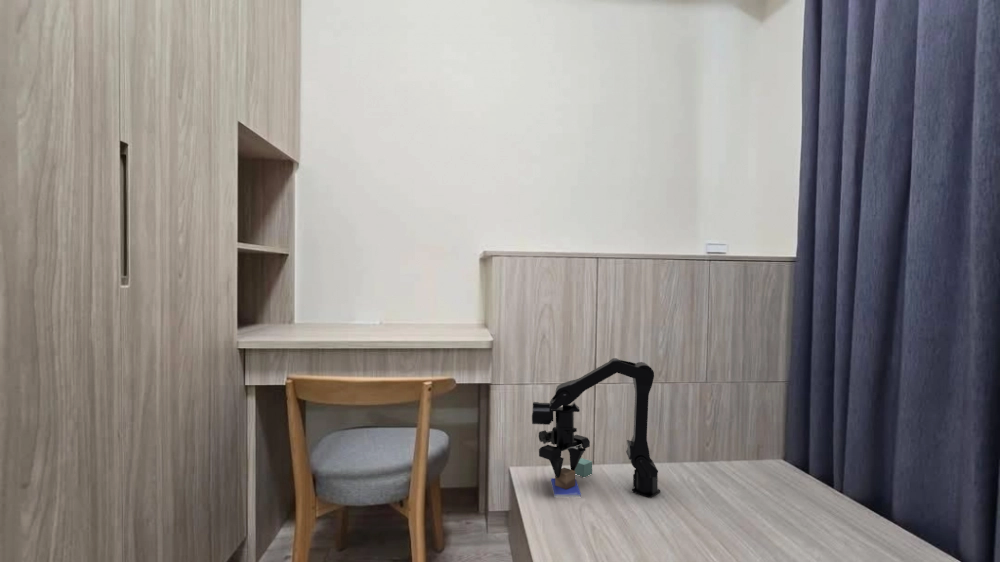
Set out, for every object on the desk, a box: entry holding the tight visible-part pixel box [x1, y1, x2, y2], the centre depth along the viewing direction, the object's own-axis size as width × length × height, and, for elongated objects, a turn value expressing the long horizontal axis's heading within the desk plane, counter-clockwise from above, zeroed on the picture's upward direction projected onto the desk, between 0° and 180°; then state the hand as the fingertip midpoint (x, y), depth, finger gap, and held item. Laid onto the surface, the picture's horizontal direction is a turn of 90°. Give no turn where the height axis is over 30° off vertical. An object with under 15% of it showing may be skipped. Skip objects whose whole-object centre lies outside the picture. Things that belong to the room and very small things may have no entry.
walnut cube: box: [554, 467, 576, 490], centre depth 152 cm, size 4×4×4 cm
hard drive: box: [550, 477, 582, 498], centre depth 152 cm, size 2×8×12 cm
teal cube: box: [575, 457, 593, 478], centre depth 163 cm, size 4×4×4 cm
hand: (565, 474), depth 152 cm, fingers open, 7 cm apart
